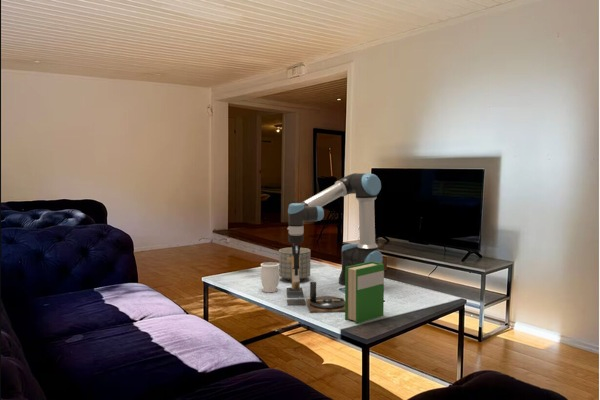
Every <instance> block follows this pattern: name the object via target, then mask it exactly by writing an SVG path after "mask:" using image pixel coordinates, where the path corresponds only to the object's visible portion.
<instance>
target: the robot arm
mask: <svg viewBox="0 0 600 400" xmlns="http://www.w3.org/2000/svg"><path fill="white" fill-rule="evenodd" d="M381 189H382V181H381V180H380V178H379V177H378V175H376V174H374V173H368V172H367V173H357V172H355V173H352V174H349V175H345V176H344V177H342V178H340V179H338V180H336V181H335V182H334V184H333V185H331V186H329V187H327V188H325V189H323V190H322V191H320V192H318V193H316V194H315V195H313V196H310V197H309V198H307V199H305V200H304V201H301V202H295V203H290V204H288V208H287V214H288V221H287V222H288V227H287V228H286V229H287V231H288V239H287V240H288V243H290V244H292V245H291V248H292V254H293V256H294V268H292V269H293V282H299V255H300V248H301V246H300V245H299V244H302V243H304V234H305V233H304V231H305V229H304V223H305V222H307V223H308V222H318V221H321V220H323V219H324V217H325V211H324V208H323V207H324V206H326V205H327V204H329V203H331V202H333V201H335V200H337V199H338V198H340V197H345V196H348V195H352V194H353V195H354V194H355V200H357V201H358V221H359V222H358V224H359V227H358V228H359V231H358V233H359V243H348V244H347V243H346V244H343V245H342V246H341V271H340V274H339V277H338V283H339V284H340V285H342V286H345V267H347V266H352V265H357V264H361V263H366V262H371V261H372V262H377V263H382V264H383V260H384V258H383V257H384V256H383V254H382V252H381V251H380V250H379V245H378V244H377V243H376V228H375V227H376V225H375V224H376V223H375V220H376V219H375V217H376V215H375V200H376V199H377V198H378V197H377V196H378V195H379V193H380V191H381Z"/></svg>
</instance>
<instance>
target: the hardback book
mask: <svg viewBox="0 0 600 400" xmlns="http://www.w3.org/2000/svg"><path fill="white" fill-rule="evenodd" d="M344 287H345V288H344V300H345V312H344V319H345V321H347V320H351V321H354V322H355V324H356V325H358V324H361V323H364V322H367V321H370V320H373V319H377V318H379V317H380V318H381V317H382V316H384V305H385V303H384V298H385V297H384V296H385V292H384V291H385V290H384V289H385V264H384V263H383V262H382V263H377V262H372V261H371V262H366V263H361V264H357V265H352V266H347V267H345V285H344Z"/></svg>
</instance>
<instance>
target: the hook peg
mask: <svg viewBox="0 0 600 400" xmlns="http://www.w3.org/2000/svg"><path fill="white" fill-rule="evenodd" d="M287 261H292V268H294V256H293V257H292V258H287ZM300 282H301V281H300V257H299V282H293V269H292V281H291V288H292V289H300V287H301V286H300Z"/></svg>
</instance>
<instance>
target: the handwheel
mask: <svg viewBox="0 0 600 400" xmlns="http://www.w3.org/2000/svg"><path fill="white" fill-rule="evenodd" d="M341 298H342V297H339V296H333V295H331V296H330V295H321V296H317V281H310V282H309V299H310V305H311V306H313V307H316V308H321V309H336V308H340V307H343V306H344V305H345V301H344V300H345V299H344V300H343V299H341Z"/></svg>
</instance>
